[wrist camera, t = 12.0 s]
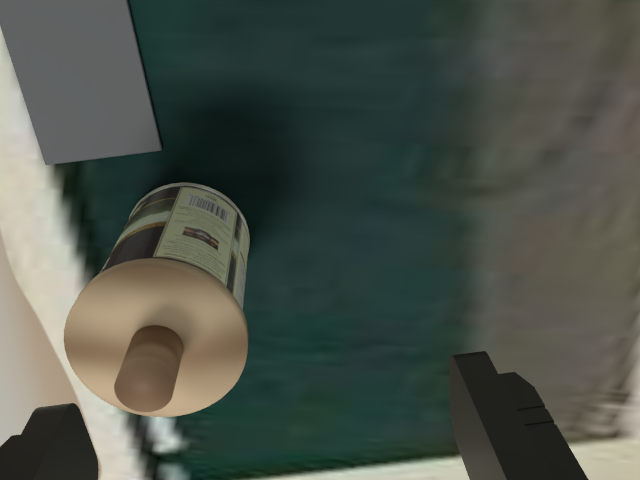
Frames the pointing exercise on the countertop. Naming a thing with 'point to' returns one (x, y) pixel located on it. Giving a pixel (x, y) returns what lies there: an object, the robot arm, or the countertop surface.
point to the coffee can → (188, 233)
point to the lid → (157, 337)
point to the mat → (80, 77)
